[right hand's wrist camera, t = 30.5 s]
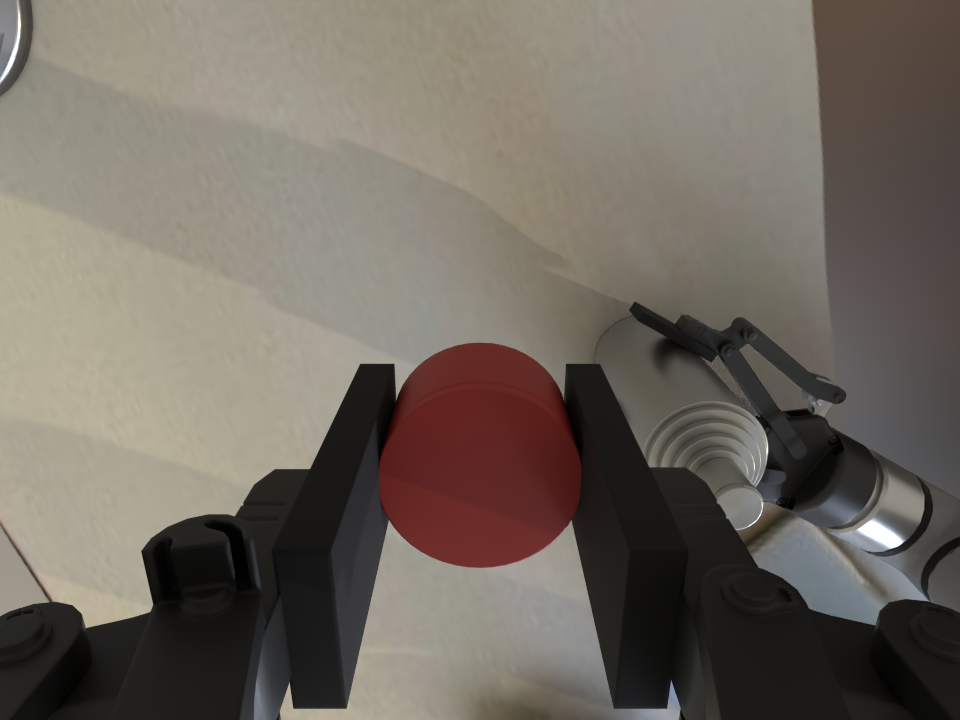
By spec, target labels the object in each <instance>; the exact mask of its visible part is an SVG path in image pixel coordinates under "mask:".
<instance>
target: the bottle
mask: <svg viewBox="0 0 960 720" xmlns="http://www.w3.org/2000/svg"><path fill="white" fill-rule="evenodd" d="M594 364H600V365H601V367H602V369H603V371H604V373H605V375H606V377H607V379H608V382H609V384H610V386H611V388H612V390H613V392H614V394H615V396H616V398H617V400H618V403H619V405H620V407H621V409H622V411H623V413H624V415H625V417H626V419H627V421H628V423H629V426H630V428H631V430H632V432H633V434H634V436H635V438H636V440H637V442H638V444H639V447H640V449H641V451H642V453H643V455H644V457H645V459H646V461H647V463H648V465H649V467H686V468H687V469H689V470H690V471H691V472H693V473H694V474H695V475H697V476H698V477H700V478H701V479H702V480H704V481H705V482H706V483H707V484H708V486H709V488H710V489H711V491H712V493H713V494H714V496H715V497H716V499H717V504H720V506H721V507H722V509H723V511H724V512H725V514H726V518H727V519H729V520H730V522H731V524H732V525H733V527H734V528H735V530H741V529H744V528H747V527H749V526H751V525H752V524H753V523H755V522H756V521H757V520H758V518H759V517H760V515H761V513H762V511H763V506H764V502H763V497H762V495H761V493H760V492H759V491H758V489H757V488H756V485H757V484H758V483H759V481H760V479H761V478H762V476H763V473H764V471H765V467H766V463H767V458H768V441H767V437H766V434H765V431H764V429H763V427H762V425H761V424H760V422H759V421H758V420H757V419H756V417H755V416H754V415H753V414H752V413H751V412H750V411H749V410H748V409H747V407H746V406H745V405H744V404H743V403H742V402H741V401H740V400H739V399H738V397H737V396H736V395H735V394H734V393H733V392H732V391H731V390H730V389H729V388H728V386H727V385H726V384H725V383H724V382H723V381H722V380H721V379H720V378H719V377H718V375H717V374H716V373H715V372H714V371H713V370H712V369H711V368H710V367H709V366H708V364H707V363H706V362H705V361H704V360H703V359H702V358H701V357H700V356H699V355H697V354H696V353H694V352H692V351H690V350H688V349H687V348H685V347H683V346H681V345H680V344H678V343H676V342H674V341H672V340H671V339H669V338H667V337H665V336H664V335H662V334H660V333H658V332H656V331H655V330H653V329H651V328H649V327H648V326H646V325H644V324H642V323H640V322H639V321H637V320H636V318H635V317H634V316H631V317H628V318H625V319H623V320H620V321H619V322H617V323H615V324H614V325H613V326H611V327H610V328H609V329H608V330H607V331H606V332H605V333H604V334H603V336H602V337H601V339H600V340H599V342H598V345H597V347H596V350H595V355H594Z"/></svg>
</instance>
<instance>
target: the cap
mask: <svg viewBox="0 0 960 720" xmlns="http://www.w3.org/2000/svg"><path fill="white" fill-rule="evenodd" d="M581 471H582V461H581V457H580V453H579V450H578V446H577V443H576V440H575V436H574V433H573V429H572V426H571V423H570V419H569V416H568V412H567V409H566V406H565V402H564V399H563V396H562V393H561V391H560V389H559V387H558V385H557V384H556V382H555V381H554V379H553V378H552V376H551V375H550V374H549V373H548V372H547V371H546V370H545V368H544V367H542V366H541V365H540V364H539V363H538V362H537V361H535V360H534V359H532V358H531V357H529V356H528V355H526V354H524V353H522V352H520V351H518V350H515V349H513V348H509V347H506V346H503V345H499V344H492V343H468V344H463V345H458V346H454V347H451V348H448V349H445V350H443V351H441V352H439V353H436V354H434V355H433V356H431V357H430V358H428V359H427V360H425V361H424V362H423V363H421V364H420V365H419V366H418V367H417V368H416V369H415V370H414V371H413V372H412V373H411V374H410V375H409V377H408V378H407V380H406V381H405V383H404V384H403V386H402V388H401V390H400V392H399V394H398V397H397V400H396V403H395V407H394V410H393V414H392V417H391V421H390V424H389V427H388V431H387V434H386V438H385V441H384V445H383V448H382V452H381V455H380V458H379V480H380V496H381V504H382V507H383V509H384V511H385V513H386V515H387V517H388V519H389V520H390V522H391V524H392V525H393V527H394V528H395V529H396V530H397V531H398V533H399V534H400V535H401V536H402V537H403V538H404V539H405V540H406V541H407V542H409V543H410V544H411V545H412V546H414V547H415V548H417V549H418V550H419V551H421V552H423V553H425V554H426V555H428V556H430V557H432V558H435V559H437V560H440V561H442V562H445V563H449V564H453V565H457V566H463V567H474V568H487V567H497V566H503V565H508V564H511V563H515V562H518V561H521V560H523V559H526V558H528V557H530V556H532V555H534V554H536V553H538V552H539V551H541V550H543V549H544V548H545V547H547V546H548V545H550V544H551V543H552V542H553V541H554V540H555V539H556V538H557V537H558V536H559V535H560V534H561V533H562V532H563V531H564V530H565V528H566V527H567V526H568V524H569V523H570V521H571V520H572V518H573V516H574V514H575V512H576V510H577V508H578V505H579V501H580V487H581Z"/></svg>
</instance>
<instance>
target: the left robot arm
mask: <svg viewBox="0 0 960 720" xmlns="http://www.w3.org/2000/svg"><path fill="white" fill-rule="evenodd" d="M630 312H631V313H632V314H633V316H634V317H635V318H636V320H637V321H639V322H640V323H642V324H644V325H646V326H648V327H649V328H651V329H653V330H655V331H656V332H658V333H660V334H662V335H664V336H665V337H667V338H669V339H671V340H672V341H674V342H676V343H678V344H680V345H681V346H683V347H685V348H687V349H688V350H690V351H692V352H694V353H696V354H697V355H699V356H701V357H703V358H705V359H706V360H708V361H710V362H712V361H713V360H714V359H715V357H716V356H717V354H718V356H719V357H720V359H721V360H722V362H723V363H724V364H725V366H726V367H727V369H728V370H729V372H730V373H731V375H732V376H733V377H734V379H735V380H736V382H737V383H738V385H739V386H740V387H741V389H742V390H743V392H744V393H745V395H746V396H747V397H748V399H749V400H750V402H751V404H752V406H753V407H754V408H755V410H756V411H757V413H758V414H759V416H760V417H758V416H756V419H757V420H758V421H759V422H760V424H761V425H762V427H763V429H764V431H765V434H766V437H767V441H768V458H767V463H766V467H765V471H764V473H763V476H762V478H761V479H760V481H759V483H758V484H757V485H756V488H757V489H758V491H759V492H760V493H761V495H762V497H763V502H771V503H774V504H776V505H778V506H780V507H781V508H783V509H785V510H787V511H789V512H791V513H793V514H795V515H797V516H799V517H801V518H802V519H804V520H806V521H808V522H810V523H812V524H814V525H816V526H819V527H821V528H822V529H823V530H825V531H827V532H829V533H831V534H833V535H835V536H837V537H839V538H841V539H843V540H845V541H847V542H849V543H851V544H853V545H855V546H857V547H859V548H861V549H862V550H864V551H866V552H867V553H869V554H872V555H874V556H875V557H877V558H879V559H881V560H883V561H884V562H886V563H888V564H890V565H892V566H894V567H895V568H897V569H898V570H899V571H900V572H902V573H903V574H904V575H905V576H906V577H907V578H908V579H909V580H910V581H911V582H912V583H913V584H914V586H915V587H916V588H917V589H918V590H919V591H920V592H921V593H922V594H923V595H924V597H925V598H926V599H927V600H928V601H930V602H931V603H934V604H938V605H942V606H944V607H947V608H951V609H953V610H955V611H957V612H959V613H960V499H958V498H956V497H954V496H952V495H950V494H948V493H947V492H945V491H943V490H941V489H939V488H937V487H935V486H934V485H932V484H930V483H928V482H926V481H924V480H923V479H921V478H919V477H918V476H916V475H914V474H913V473H911V472H909V471H907V470H905V469H904V468H902V467H900V466H898V465H897V464H895V463H893V462H892V461H890V460H888V459H886V458H885V457H883V456H881V455H879V454H878V453H876V452H874V451H872V450H869V449H867V448H866V447H865V446H864V445H862V444H860V443H859V442H857V441H855V440H853V439H851V438H850V437H848V436H846V435H844V434H842V433H841V432H839V431H837V430H835V429H834V428H832V427H830V426H829V424H828V422H827V420H826V419H825V416H826V415H827V413H828V411H829V410H830V408H831V406H832V404H840V403H842V402H843V401H844V400H845V398H846V393H845V391H844V390H842V389H841V388H840V387H838V386H837V385H836V384H834V383H833V382H832V381H830V380H829V379H828V378H826V377H823V376H820V375H817V374H814V373H811V372H808V371H807V370H806V369H805V368H803V367H802V366H801V365H800V364H799V363H798V362H796V361H795V360H794V359H793V358H792V357H790V356H789V355H788V354H787V353H786V352H785V351H783V350H782V349H781V348H780V347H779V346H778V345H776V344H775V343H774V342H773V341H772V340H770V339H769V338H768V337H767V336H766V335H765V334H763V333H762V332H761V331H760V330H759V329H758V328H756V327H755V326H754V325H752V324H751V323H750V322H748V321H747V320H746V319H744V318H742V317H739V318H736V319H735V320H733V322H732V324H731V326H730V327H729V328H727V329H726V330H724V331H718V330H714V329H712V328H710V327H708V326H707V325H705V324H703V323H701V322H700V321H698V320H696V319H694V318H693V317H691V316H689V315H681V317H680V318H679V320H678V321H677V322H676V324H674V323H672V322H670V321H668V320H666V319H665V318H663V317H661V316H659V315H658V314H656V313H654V312H652V311H651V310H649V309H647V308H645V307H644V306H642V305H640V304H638V303H637V302H634V304H633V305H632V307H631V308H630ZM747 343H748V344H749V345H751V346H752V347H753V348H754V349H755V350H757V351H758V352H759V353H760V354H761V355H763V356H764V357H765V358H766V359H767V360H769V361H770V362H771V363H772V364H773V365H775V366H776V367H777V368H778V369H779V370H780V371H782V372H783V373H784V374H785V375H786V376H788V377H789V378H790V379H791V380H792V381H794V382H795V383H796V384H797V385H798V386H800V387H801V388H802V392H803V393H802V396H803V398H804V399H805V400H806V401H807V402H808V403H809V408H807V409H797V410H787V411H781V410H780V409H779V408H778V407H777V405H776V404H775V402H774V401H773V399H772V398H771V396H770V395H769V394H768V392H767V391H766V389H765V388H764V386H763V385H762V383H761V382H760V380H759V379H758V377H757V376H756V374H755V373H754V372H753V370H752V369H751V367H750V366H749V364H748V363H747V361H746V360H745V358H744V357H743V355H742V354H741V352H740V351H739V349H740V348H742V347H743V346H744V345H746V344H747Z"/></svg>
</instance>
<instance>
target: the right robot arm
mask: <svg viewBox="0 0 960 720" xmlns="http://www.w3.org/2000/svg"><path fill="white" fill-rule="evenodd" d="M32 29H33V23H32V8H31V1H30V0H0V96H1V95H3V94H4V93H5V92H6V91H7V90H8V89H9V88H10V87H11V86H12V85H13V83H14V82H15V81H16V80H17V78H18V77H19V75H20V73H21V71H22V70H23V67H24V65H25V63H26V60H27V57H28V54H29V51H30V46H31V40H32ZM564 402H565V406H566V409H567V412H568V416H569V419H570V423H571V426H572V429H573V433H574V436H575V440H576V443H577V446H578V450H579V453H580V457H581V461H582V471H581V487H580V501H579V505H578V508H577V510H576V512H575V514H574V516H573V518H572V524H573V528H574V533H575V537H576V542H577V546H578V551H579V555H580V559H581V564H582V568H583V573H584V577H585V582H586V586H587V591H588V595H589V600H590V604H591V608H592V613H593V617H594V622H595V626H596V631H597V635H598V640H599V644H600V649H601V653H602V658H603V662H604V666H605V671H606V675H607V680H608V684H609V689H610V693H611V698H612V702H613V707H614V709H667V705H668V698H669V691H670V683H671V680H672V683H673V686H674V689H675V692H676V695H677V698H678V701H679V704H680V707H681V710H680V717H679V720H960V613H959V612H957V611H955V610H953V609H951V608H947V607H944V606H942V605H938V604H934V603H931V602H928V601H919V600H909V599H904V600H899V601H894V602H889V603H888V604H887V605H886V606H885V607H884V608H883V609H881V610H880V612H879V615H878V619H877V622H876V626H875V625H870V624H866V623H861V622H857V621H852V620H848V619H843V618H839V617H834V616H830V615H827V614H823V613H820V612H817V611H813V610H811V609H809V608H808V606H807V604H806V602H805V601H804V599H803V598H802V596H801V595H800V593H799V592H798V590H797V589H795V588H794V587H793V586H792V585H790V584H789V583H788V582H787V581H785V580H784V579H783V578H781V577H779V576H777V575H775V574H773V573H770V572H768V571H766V570H764V569H761V568H758V566H757V564H756V563H755V561H754V560H753V558H752V556H751V555H750V553H749V551H748V550H747V548H746V546H745V545H744V543H743V542H742V540H741V538H740V537H739V535H738V533H737V532H736V530H735V528H734V527H733V525H732V524H731V522H730V520H729V519H727V518H726V514H725V512H724V511H723V509H722V507H721V506H720V504H717V499H716V497H715V496H714V494H713V493H712V491H711V489H710V488H709V486H708V484H707V483H706V482H705V481H704V480H702V479H701V478H700V477H698V476H697V475H695V474H694V473H693V472H691V471H690V470H689V469H687V468H686V467H649V465H648V463H647V461H646V459H645V457H644V455H643V453H642V451H641V449H640V447H639V444H638V442H637V440H636V438H635V436H634V434H633V432H632V430H631V428H630V426H629V423H628V421H627V419H626V417H625V415H624V413H623V411H622V409H621V407H620V405H619V403H618V400H617V398H616V396H615V394H614V392H613V390H612V388H611V386H610V384H609V382H608V379H607V377H606V375H605V373H604V371H603V369H602V367H601V365H600V364H566V375H565V394H564ZM395 403H396V387H395V367H394V364H360V366H359V368H358V370H357V372H356V374H355V376H354V378H353V380H352V382H351V385H350V387H349V389H348V391H347V393H346V395H345V397H344V399H343V401H342V403H341V406H340V408H339V410H338V412H337V414H336V416H335V418H334V420H333V422H332V424H331V426H330V429H329V431H328V433H327V435H326V437H325V439H324V441H323V443H322V445H321V447H320V450H319V452H318V454H317V456H316V458H315V460H314V462H313V464H312V466H311V468H310V469H275V470H273V471H272V472H271V473H269V474H268V475H267V476H265V477H264V478H263V479H261V480H260V481H259V482H257V483H256V484H254V486H253V488H252V489H251V491H250V493H249V494H248V496H247V498H246V499H245V501H244V505H243V506H241V507H240V509H239V511H238V512H237V514H236V516H231V515H228V514H208V515H203V516H199V517H194V518H189V519H186V520H183V521H181V522H178V523H176V524H174V525H171V526H169V527H167V528H165V529H164V530H162V531H161V532H160V533H158V534H157V535H155V536H154V537H152V538H151V539H150V541H149V542H148V543H147V544H146V546H145V547H144V548H143V550H142V551H141V552H142V557H143V561H144V565H145V570H146V574H147V579H148V583H149V587H150V592H151V596H152V601H153V607H152V610H151V612H149V613H146V614H143V615H140V616H136V617H133V618H129V619H125V620H120V621H116V622H111V623H107V624H102V625H98V626H93V627H89V628H85V624H84V620H83V617H82V614H81V613H80V612H79V611H78V610H77V609H76V608H75V607H74V606H73V605H68V604H64V603H59V602H49V603H39V604H32V605H29V606H26V607H23V608H19V609H16V610H13V611H10V612H8V613H6V614H4V615H2V616H0V720H281V717H280V709H281V706H282V703H283V700H284V697H285V694H286V691H287V688H288V685H289V682H290V688H291V695H292V702H293V709H346V708H347V704H348V700H349V695H350V691H351V686H352V682H353V677H354V673H355V668H356V664H357V659H358V655H359V650H360V646H361V642H362V637H363V633H364V628H365V624H366V619H367V615H368V610H369V606H370V601H371V597H372V592H373V588H374V584H375V579H376V575H377V570H378V566H379V561H380V557H381V552H382V548H383V543H384V539H385V534H386V530H387V526H388V521H389V519H388V517H387V515H386V513H385V511H384V509H383V507H382V504H381V496H380V480H379V458H380V455H381V452H382V448H383V445H384V441H385V438H386V434H387V431H388V427H389V424H390V421H391V417H392V414H393V410H394V407H395Z"/></svg>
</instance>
